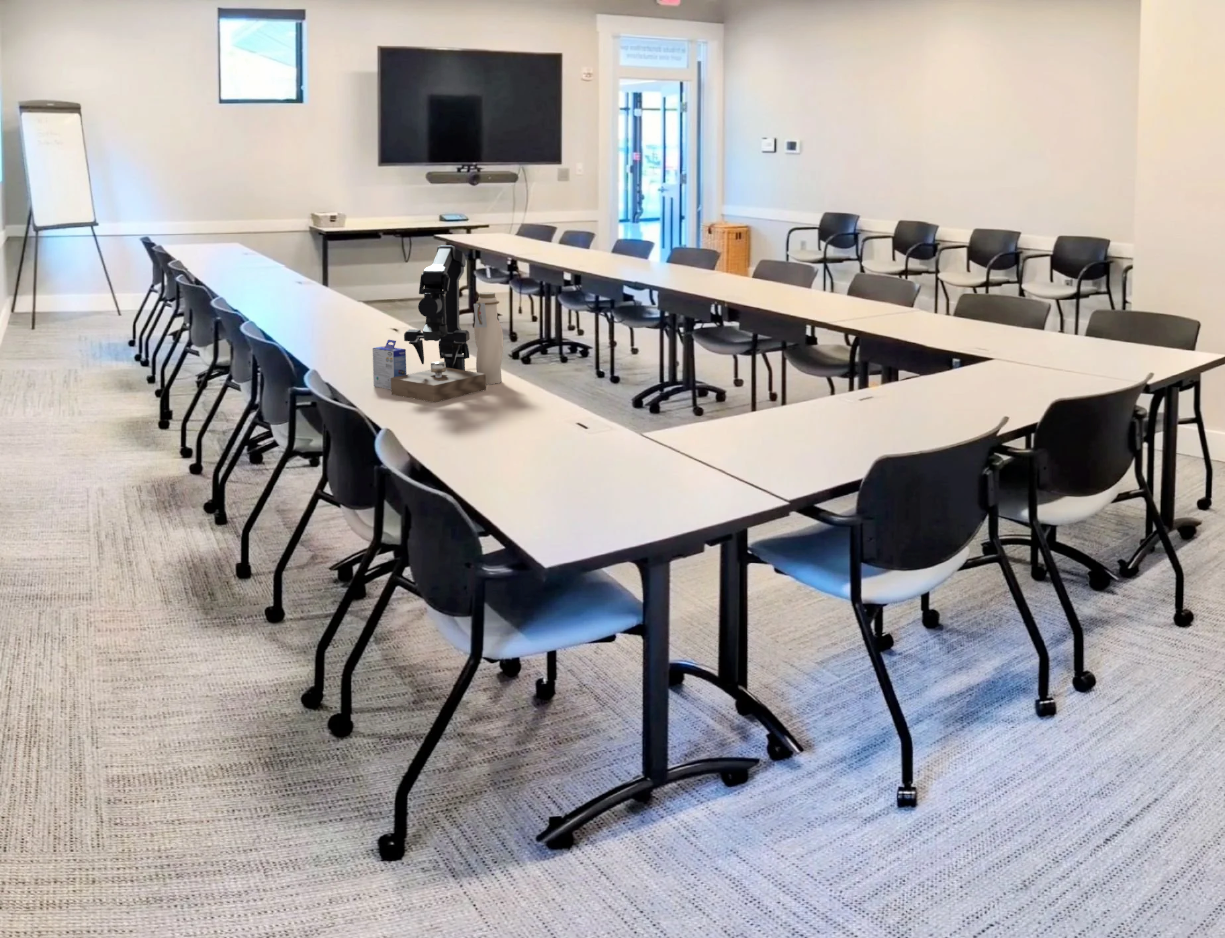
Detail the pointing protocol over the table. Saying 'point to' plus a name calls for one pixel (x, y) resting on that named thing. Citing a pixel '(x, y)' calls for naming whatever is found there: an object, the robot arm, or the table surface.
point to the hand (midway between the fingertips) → (438, 364)
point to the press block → (438, 384)
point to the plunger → (438, 368)
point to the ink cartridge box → (388, 364)
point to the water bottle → (488, 337)
